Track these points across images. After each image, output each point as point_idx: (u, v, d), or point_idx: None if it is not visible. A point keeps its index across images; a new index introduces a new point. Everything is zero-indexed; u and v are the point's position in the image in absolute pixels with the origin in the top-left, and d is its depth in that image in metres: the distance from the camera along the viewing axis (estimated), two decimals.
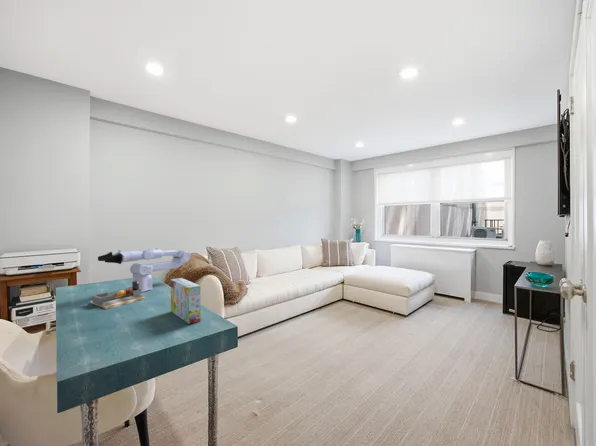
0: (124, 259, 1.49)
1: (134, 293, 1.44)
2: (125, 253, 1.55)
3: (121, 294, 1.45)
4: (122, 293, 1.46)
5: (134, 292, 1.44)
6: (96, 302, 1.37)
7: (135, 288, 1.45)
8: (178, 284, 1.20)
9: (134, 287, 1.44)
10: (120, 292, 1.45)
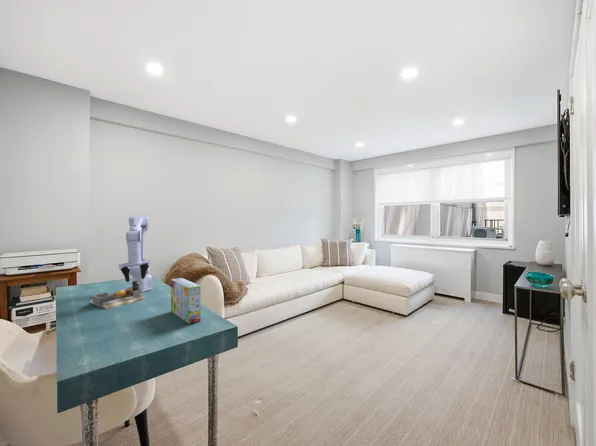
0: None
1: (134, 293, 1.44)
2: (140, 258, 1.46)
3: (121, 294, 1.45)
4: (122, 293, 1.46)
5: (134, 292, 1.44)
6: (96, 302, 1.37)
7: (135, 288, 1.45)
8: (178, 284, 1.20)
9: (134, 287, 1.44)
10: (120, 292, 1.45)
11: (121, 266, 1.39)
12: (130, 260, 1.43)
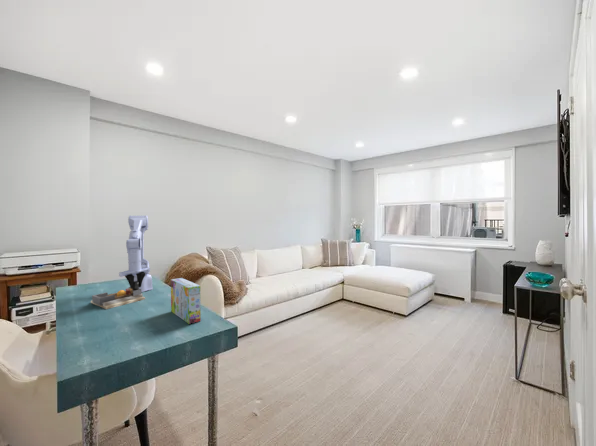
0: None
1: (134, 293, 1.44)
2: (140, 266, 1.46)
3: (121, 294, 1.45)
4: (122, 293, 1.46)
5: (134, 292, 1.44)
6: (96, 302, 1.37)
7: (135, 288, 1.45)
8: (178, 284, 1.20)
9: (134, 287, 1.44)
10: (120, 292, 1.45)
11: (121, 274, 1.39)
12: (130, 268, 1.43)
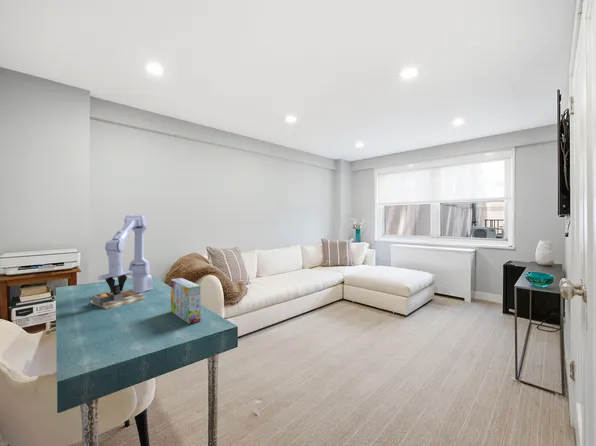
0: None
1: (115, 298, 1.37)
2: (121, 269, 1.38)
3: None
4: None
5: (115, 297, 1.37)
6: (96, 302, 1.37)
7: (116, 292, 1.37)
8: (178, 284, 1.20)
9: (115, 291, 1.37)
10: None
11: (101, 278, 1.32)
12: (111, 271, 1.35)
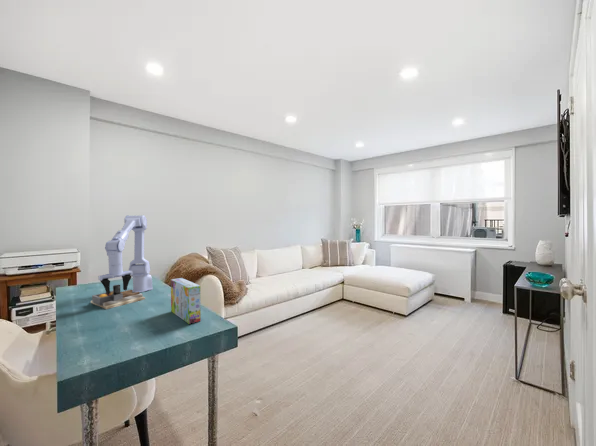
0: None
1: (115, 298, 1.37)
2: (121, 269, 1.38)
3: None
4: None
5: (115, 297, 1.37)
6: (96, 302, 1.37)
7: (116, 292, 1.37)
8: (178, 284, 1.20)
9: (115, 291, 1.37)
10: None
11: (101, 278, 1.32)
12: (111, 271, 1.35)
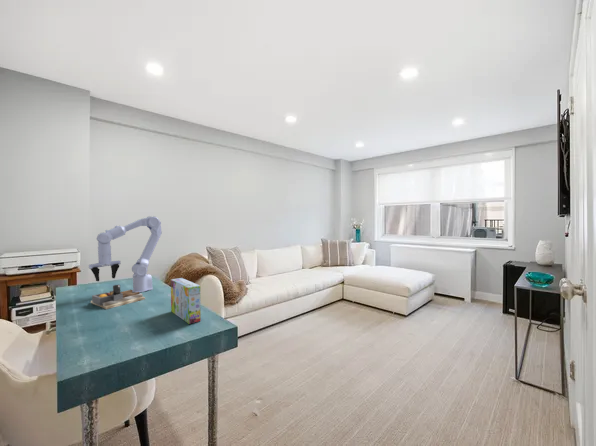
0: None
1: (115, 298, 1.37)
2: (110, 259, 1.52)
3: None
4: None
5: (115, 297, 1.37)
6: (96, 302, 1.37)
7: (116, 292, 1.37)
8: (178, 284, 1.20)
9: (115, 291, 1.37)
10: None
11: (91, 266, 1.46)
12: (100, 260, 1.49)
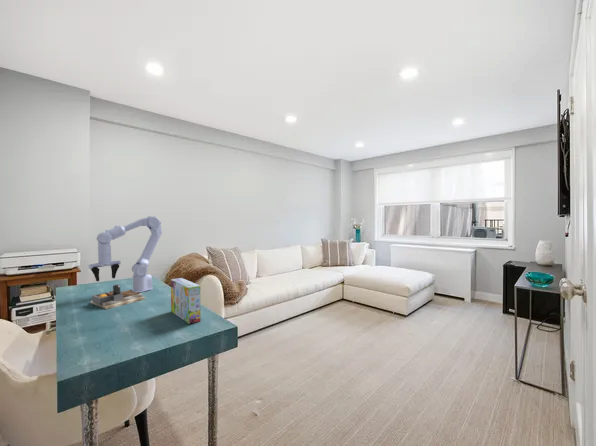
0: None
1: (115, 298, 1.37)
2: (110, 259, 1.52)
3: None
4: None
5: (115, 297, 1.37)
6: (96, 302, 1.37)
7: (116, 292, 1.37)
8: (178, 284, 1.20)
9: (115, 291, 1.37)
10: None
11: (91, 266, 1.46)
12: (100, 260, 1.49)
